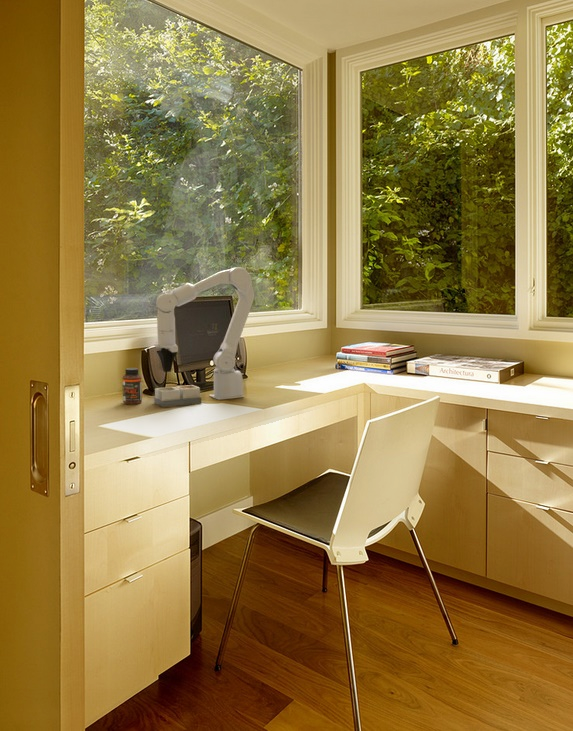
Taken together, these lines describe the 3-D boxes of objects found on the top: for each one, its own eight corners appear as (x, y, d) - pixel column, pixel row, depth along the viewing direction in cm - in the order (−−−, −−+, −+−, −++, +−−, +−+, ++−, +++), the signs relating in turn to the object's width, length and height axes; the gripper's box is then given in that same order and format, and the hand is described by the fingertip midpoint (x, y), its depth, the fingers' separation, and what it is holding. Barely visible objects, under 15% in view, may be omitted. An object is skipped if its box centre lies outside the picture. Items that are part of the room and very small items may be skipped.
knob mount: (191, 399, 208) (191, 384, 207) (201, 403, 201) (201, 388, 201) (154, 403, 201) (153, 387, 200) (163, 407, 194) (162, 392, 194)
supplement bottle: (123, 405, 197) (122, 370, 196) (122, 401, 203) (121, 367, 201) (142, 404, 199) (141, 369, 197) (141, 400, 205) (140, 366, 203)
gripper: (147, 329, 208) (148, 369, 210) (162, 333, 196) (163, 375, 198) (167, 328, 212) (167, 368, 214) (183, 332, 199) (184, 373, 201)
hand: (167, 371), depth 206 cm, fingers closed
